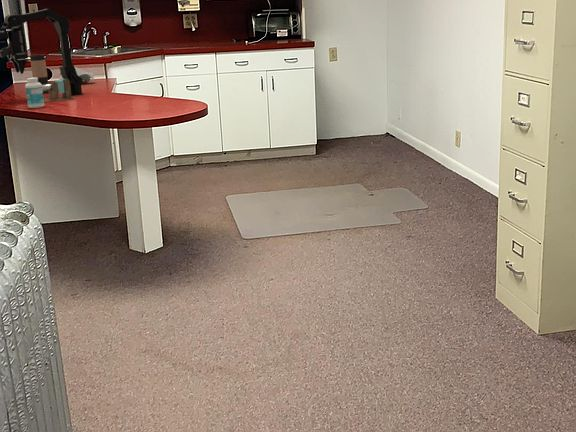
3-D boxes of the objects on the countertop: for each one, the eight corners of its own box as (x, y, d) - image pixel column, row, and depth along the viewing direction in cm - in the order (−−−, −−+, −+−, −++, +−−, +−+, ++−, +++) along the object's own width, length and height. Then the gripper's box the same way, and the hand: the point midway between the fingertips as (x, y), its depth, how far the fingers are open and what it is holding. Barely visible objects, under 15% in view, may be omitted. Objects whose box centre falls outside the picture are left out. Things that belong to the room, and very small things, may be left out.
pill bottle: (27, 107, 354) (23, 78, 350) (43, 105, 356) (39, 76, 353) (28, 108, 347) (24, 79, 343) (45, 107, 350) (41, 78, 346)
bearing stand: (69, 97, 384) (66, 79, 381) (75, 98, 376) (72, 80, 373) (29, 101, 374) (26, 83, 371) (34, 103, 366) (32, 84, 363)
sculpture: (98, 83, 444) (96, 66, 441) (67, 87, 434) (65, 69, 431) (84, 80, 464) (82, 64, 461) (53, 84, 454) (51, 67, 451)
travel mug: (32, 94, 405) (26, 56, 399) (41, 92, 412) (36, 54, 406) (43, 94, 402) (38, 56, 396) (52, 92, 409) (47, 54, 403)
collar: (61, 91, 379) (59, 79, 377) (64, 92, 374) (63, 80, 372) (55, 92, 378) (53, 80, 376) (58, 93, 373) (57, 81, 371)
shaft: (67, 89, 380) (66, 80, 378) (70, 89, 376) (69, 81, 375) (29, 93, 370) (28, 84, 369) (31, 94, 367) (30, 84, 365)
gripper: (-6, 41, 373) (-1, 73, 378) (1, 43, 358) (7, 76, 363) (17, 40, 379) (22, 71, 383) (25, 41, 363) (30, 73, 368)
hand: (19, 73), depth 374 cm, fingers open, 9 cm apart
